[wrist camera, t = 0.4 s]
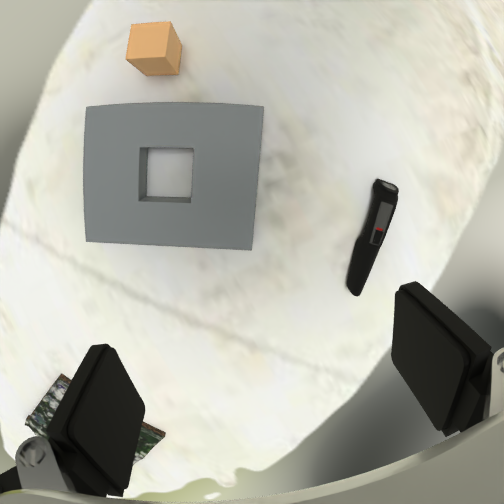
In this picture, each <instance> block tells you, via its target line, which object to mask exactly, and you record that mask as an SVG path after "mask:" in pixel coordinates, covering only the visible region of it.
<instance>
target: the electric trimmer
mask: <svg viewBox="0 0 504 504" xmlns="http://www.w3.org/2000/svg"><path fill="white" fill-rule="evenodd" d="M373 187H374V192H375V198H374V201H373V205H372V208H371V212H370V215H369V218H368V221H367V225H366V228H365V231H364V234H363V235H362V236H361V237H360V238H359V239H358V240H357V242H356V245H355V249H354V254H353V258H352V263H351V267H350V271H349V276H348V280H347V287H348V289H349V290H350V292H351V293H352V294H353V295H354V296H359V295H360V294H361V292H362V290H363V287H364V285H365V283H366V280H367V278H368V276H369V273H370V271H371V269H372V266H373V264H374V261H375V259H376V256H377V254H378V252H379V249H380V247H381V245H382V243H383V241H384V238H385V236H386V233H387V230H388V228H389V225H390V222H391V220H392V217H393V214H394V212H395V209H396V205H397V201H398V192H399V190H398V188H397V186H395V185H394V184H391V183H388V182H386V181H383V180H380V179H377V181H376V183H374V185H373Z"/></svg>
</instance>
